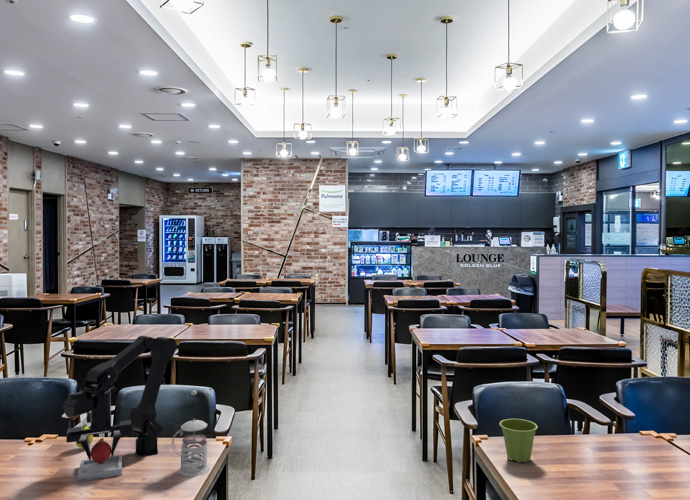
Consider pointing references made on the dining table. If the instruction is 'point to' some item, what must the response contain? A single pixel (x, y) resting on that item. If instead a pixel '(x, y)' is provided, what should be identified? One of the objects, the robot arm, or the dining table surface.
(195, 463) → the french press
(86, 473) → the dish
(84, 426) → the lemon
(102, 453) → the onion
